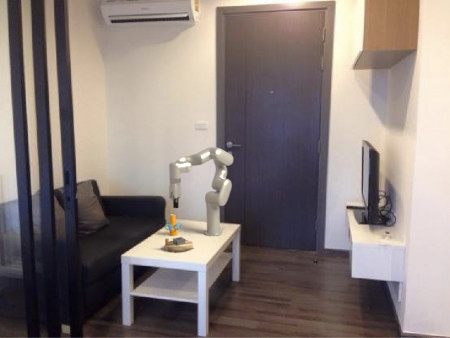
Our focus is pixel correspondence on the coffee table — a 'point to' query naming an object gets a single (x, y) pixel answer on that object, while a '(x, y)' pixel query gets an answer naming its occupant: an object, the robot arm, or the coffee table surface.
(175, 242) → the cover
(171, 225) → the cylinder
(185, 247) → the turntable
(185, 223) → the coffee table surface
